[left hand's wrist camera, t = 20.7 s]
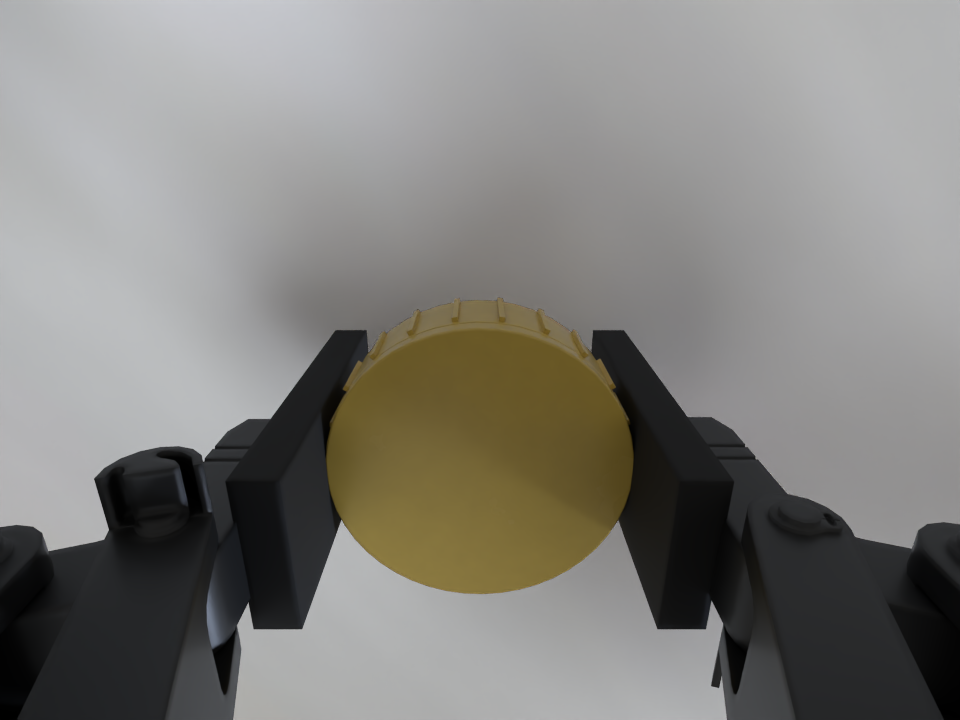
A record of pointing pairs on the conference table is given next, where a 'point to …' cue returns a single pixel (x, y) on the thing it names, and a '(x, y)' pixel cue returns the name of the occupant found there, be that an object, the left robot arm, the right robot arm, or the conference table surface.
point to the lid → (479, 449)
